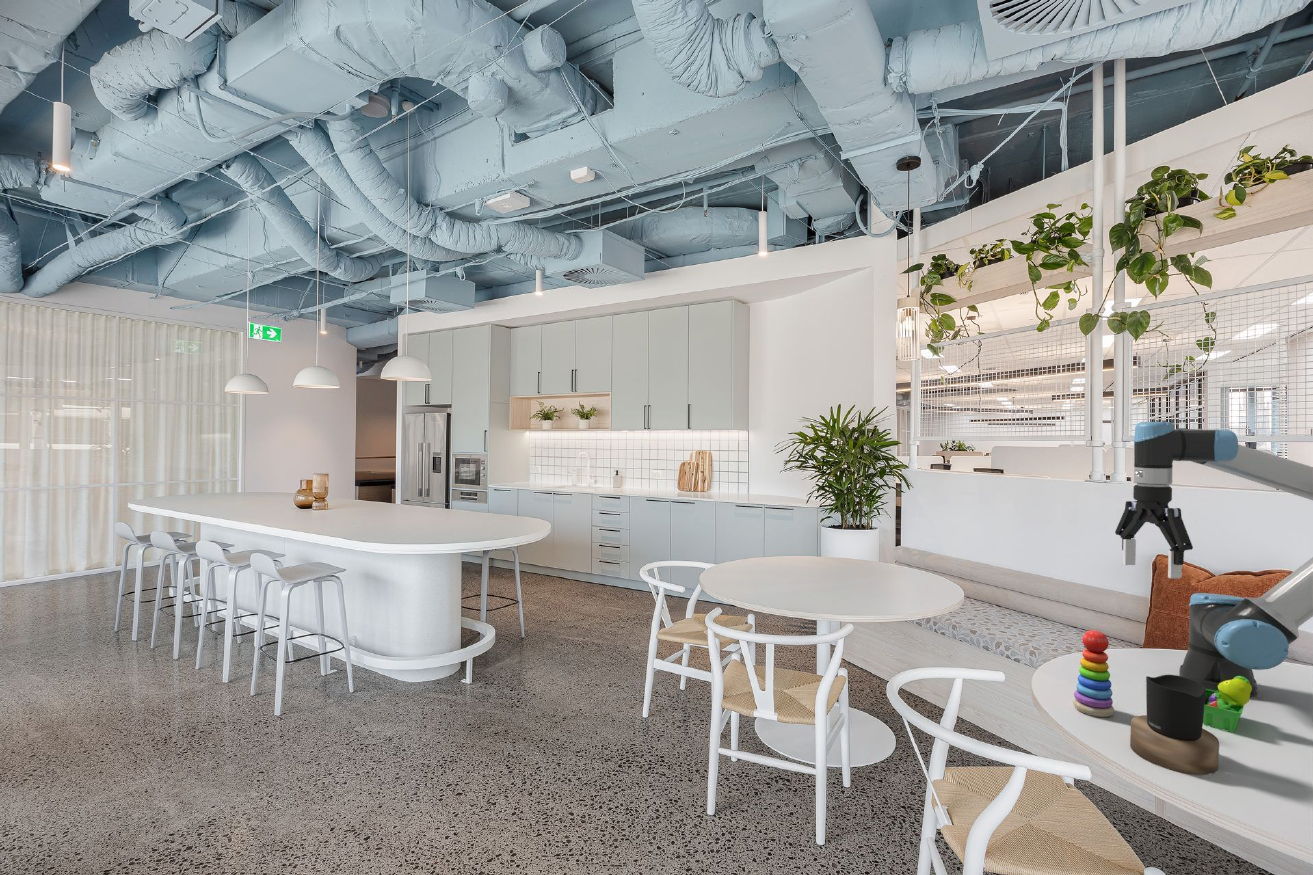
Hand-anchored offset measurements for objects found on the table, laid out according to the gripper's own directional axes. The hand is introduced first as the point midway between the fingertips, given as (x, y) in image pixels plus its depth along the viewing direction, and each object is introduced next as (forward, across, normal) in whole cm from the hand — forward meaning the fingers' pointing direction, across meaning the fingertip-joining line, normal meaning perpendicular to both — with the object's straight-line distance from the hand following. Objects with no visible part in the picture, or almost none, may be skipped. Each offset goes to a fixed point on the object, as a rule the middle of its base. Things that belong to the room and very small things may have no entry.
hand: (1150, 571), depth 160 cm
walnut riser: (+30, +28, -19) cm, 45 cm away
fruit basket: (+31, +16, +4) cm, 35 cm away
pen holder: (+26, +28, -19) cm, 42 cm away
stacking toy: (+31, +8, -20) cm, 38 cm away
